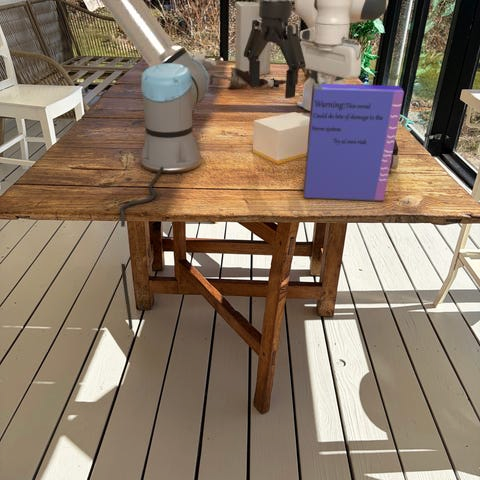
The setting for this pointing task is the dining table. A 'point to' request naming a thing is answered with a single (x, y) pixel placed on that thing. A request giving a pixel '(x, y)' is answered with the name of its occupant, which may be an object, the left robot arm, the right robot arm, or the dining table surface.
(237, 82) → the figurine
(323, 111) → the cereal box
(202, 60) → the toy
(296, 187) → the dining table surface
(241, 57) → the white block
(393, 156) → the figurine character
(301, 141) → the cabinet
